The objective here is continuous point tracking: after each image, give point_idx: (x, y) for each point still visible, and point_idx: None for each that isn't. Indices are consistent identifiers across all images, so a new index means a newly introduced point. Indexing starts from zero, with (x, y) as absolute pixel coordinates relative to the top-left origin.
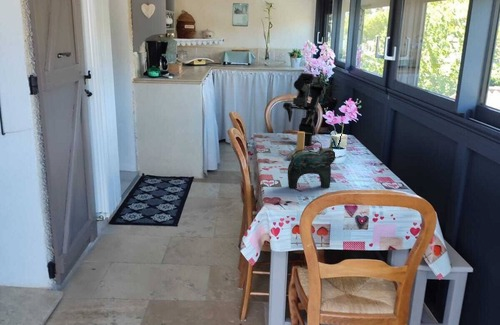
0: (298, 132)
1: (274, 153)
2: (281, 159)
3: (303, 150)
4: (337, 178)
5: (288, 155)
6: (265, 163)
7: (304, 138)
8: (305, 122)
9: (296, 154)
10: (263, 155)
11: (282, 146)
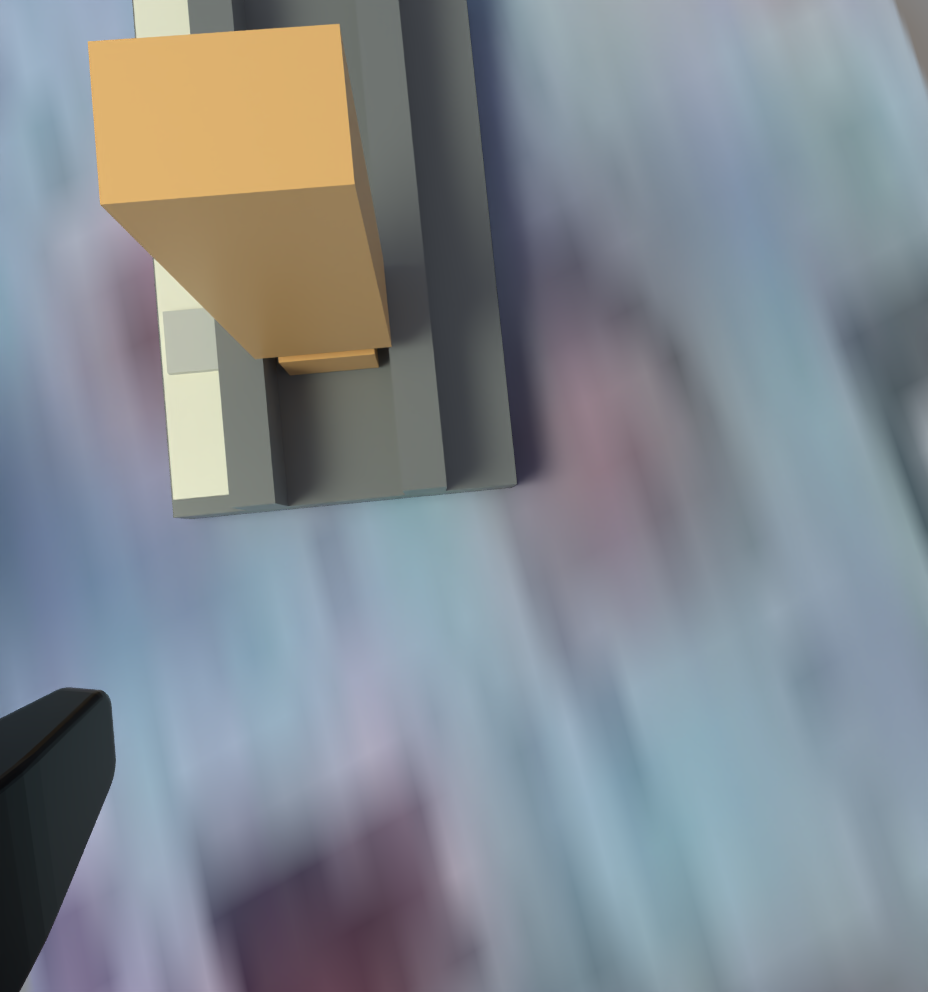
0: (303, 32)
1: (764, 314)
2: (550, 15)
3: None
4: None
5: (474, 98)
6: None
7: (182, 285)
8: (57, 712)
9: None
10: (879, 115)
11: (794, 860)
